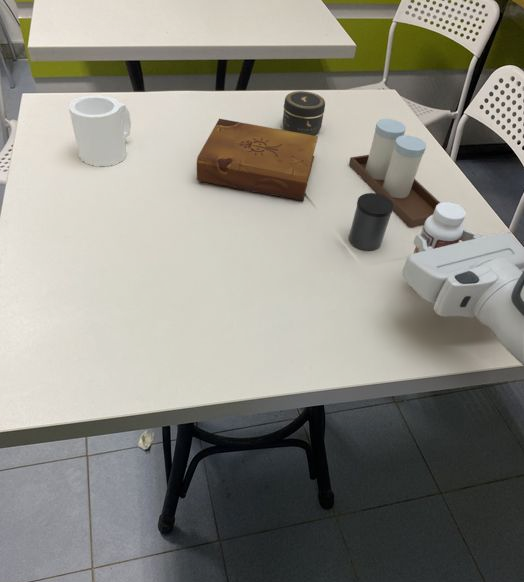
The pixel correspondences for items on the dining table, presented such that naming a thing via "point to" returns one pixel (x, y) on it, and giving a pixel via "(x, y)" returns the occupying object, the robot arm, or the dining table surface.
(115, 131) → the mug
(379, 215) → the grey tin
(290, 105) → the jar
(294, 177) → the diary
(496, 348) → the dining table surface
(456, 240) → the pill bottle
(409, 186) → the white bottle
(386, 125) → the white bottle
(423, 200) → the tray
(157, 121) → the dining table surface
